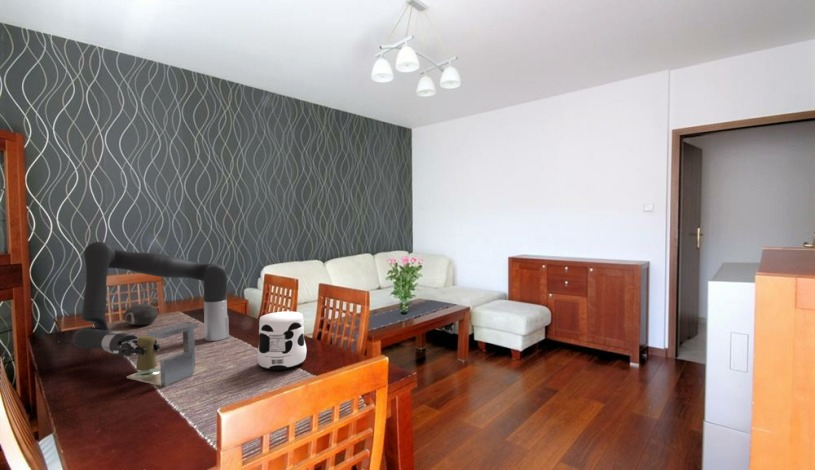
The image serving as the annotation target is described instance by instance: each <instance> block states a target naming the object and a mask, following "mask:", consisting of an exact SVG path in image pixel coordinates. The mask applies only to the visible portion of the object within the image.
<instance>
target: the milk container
mask: <svg viewBox="0 0 815 470" xmlns="http://www.w3.org/2000/svg"><path fill="white" fill-rule="evenodd" d="M304 322H305V321H304V315H303V313H301V312H298V311H278V312H270V313H266V314H264V315H262V316H260V317H259V323H258V325H259V329H258V336H259V339H258V341H259V343H258V347H257V351H256V358H257V363H258V365H259V366H260V367H261V368H263V369H266V370H270V371H280V370H281V371H283V370H287V369H292V368H295V367H297V366H299V365H301V364H302V363H304V361H305V360H306V358H307V349H308V348H307V344H306V341H305V334H304V331H305V329H304V326H305V325H304Z"/></svg>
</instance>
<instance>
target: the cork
mask: <svg viewBox="0 0 815 470" xmlns="http://www.w3.org/2000/svg"><path fill="white" fill-rule="evenodd" d="M137 338H138V340H137V344H138V346H139V347H142V348H146V355H140V354H137V361H136V370H137V371H142V370H149V369H153V368H155V367H156V366H157V363H158V362H157V359H156V351H154V346H153V344H154V343H155V339H156V338H155V337H149V336H147V334H146V335H141V336H139V337H137Z"/></svg>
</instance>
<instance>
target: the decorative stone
mask: <svg viewBox="0 0 815 470" xmlns="http://www.w3.org/2000/svg"><path fill="white" fill-rule="evenodd" d="M158 315H159V311H158V309H157V308H156V307H155V306H154V305H152V304H148V303H140V304H136V305H132V306H130V307H128V308H127V309H126V310H125V312H124V315H123V319H124V321H125V322H126V323H127V324H128V325H132V326H137V327H138V326H146V325H150V324H152V323H153V322H154V321H155V320H156V319H157V318H158Z"/></svg>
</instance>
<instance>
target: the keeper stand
mask: <svg viewBox="0 0 815 470" xmlns="http://www.w3.org/2000/svg"><path fill="white" fill-rule="evenodd" d="M198 328H199V322H198V323H197V322H191V321H181V322H178V323H174V324H169V325H166V326H163V327H158V328H155V329H152V330H149V331H147V333H146V335H147V336H149V337H155V339H156V338H157V339H165V338H168V337H171V336H175V335H178V334H182V345H183V347H182V349H183V352H179V353H176V354H174V355H171V356H168V357H165V358H162V359H160V360H159V364H158V365H157V366H156V367H155V368H153V369H149V370H138V371H137V372H136V373H133V374H129V375H127V376H126V379H130V380H133V381H138V382H142V383H145V384H146V383H147V384H151V385H155V386H159V387H163V388H166V387H169V386H171V385H174V384H176V383H178V382H180V381H182V380H185V379H188V378H191V377H192V376H195V375H198V374H200V373H202V372H204V371H206V370H207V367H201V366H199V365H198V366H197V365H196V348H195V345H196V344H195V329H198Z"/></svg>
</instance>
